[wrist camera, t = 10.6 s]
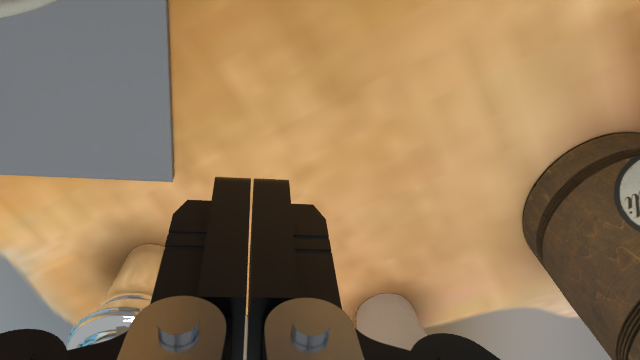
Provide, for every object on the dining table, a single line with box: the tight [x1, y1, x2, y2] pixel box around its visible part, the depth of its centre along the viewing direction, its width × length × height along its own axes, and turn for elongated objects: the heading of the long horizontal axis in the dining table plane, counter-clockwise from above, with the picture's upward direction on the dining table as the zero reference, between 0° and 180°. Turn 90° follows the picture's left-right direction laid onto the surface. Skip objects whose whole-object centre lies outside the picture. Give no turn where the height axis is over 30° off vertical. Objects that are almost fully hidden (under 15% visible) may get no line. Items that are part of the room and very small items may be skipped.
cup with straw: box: [67, 244, 165, 350], centre depth 39 cm, size 8×9×20 cm
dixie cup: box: [356, 293, 427, 351], centre depth 49 cm, size 8×8×10 cm
